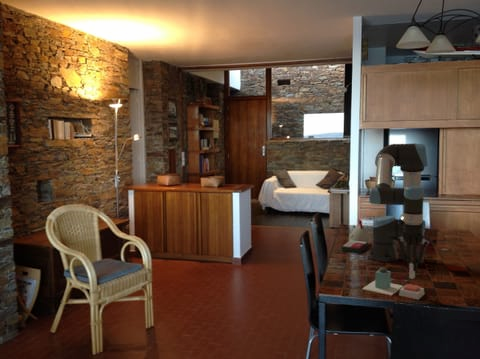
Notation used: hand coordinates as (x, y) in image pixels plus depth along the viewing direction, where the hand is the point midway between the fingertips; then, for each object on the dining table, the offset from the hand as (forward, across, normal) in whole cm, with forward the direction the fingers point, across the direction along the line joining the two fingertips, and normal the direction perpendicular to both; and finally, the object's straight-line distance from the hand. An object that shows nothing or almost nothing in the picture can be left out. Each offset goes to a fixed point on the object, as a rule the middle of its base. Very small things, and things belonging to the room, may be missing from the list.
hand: (412, 277), depth 188 cm
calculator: (+9, -52, +57) cm, 78 cm away
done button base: (+8, 0, 0) cm, 8 cm away
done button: (+6, 0, 0) cm, 6 cm away
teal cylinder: (+7, -13, +1) cm, 15 cm away
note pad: (+8, -13, +1) cm, 15 cm away
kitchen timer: (+9, -55, +71) cm, 91 cm away
